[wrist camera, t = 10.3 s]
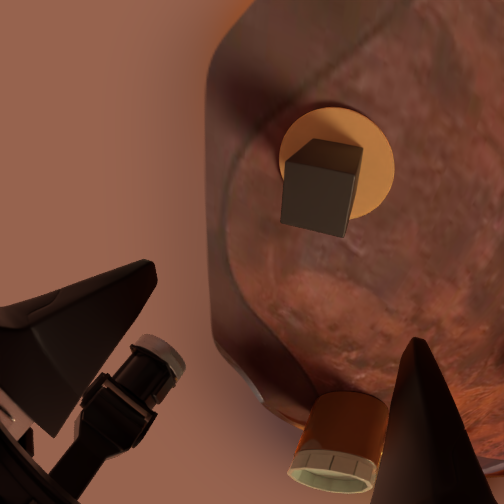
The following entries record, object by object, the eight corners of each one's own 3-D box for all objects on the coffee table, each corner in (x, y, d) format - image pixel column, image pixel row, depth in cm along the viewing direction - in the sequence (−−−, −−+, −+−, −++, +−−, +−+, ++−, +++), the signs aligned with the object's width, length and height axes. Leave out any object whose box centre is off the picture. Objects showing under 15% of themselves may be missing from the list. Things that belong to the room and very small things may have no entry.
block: (308, 184, 18) (279, 223, 14) (312, 137, 16) (284, 160, 12) (355, 195, 17) (343, 239, 13) (363, 147, 15) (356, 174, 11)
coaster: (277, 204, 20) (275, 206, 20) (284, 99, 16) (282, 100, 16) (380, 228, 18) (380, 231, 18) (403, 120, 14) (403, 121, 14)
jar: (307, 417, 33) (281, 479, 26) (322, 382, 28) (293, 460, 21) (372, 434, 31) (355, 497, 24) (401, 402, 25) (387, 480, 18)
